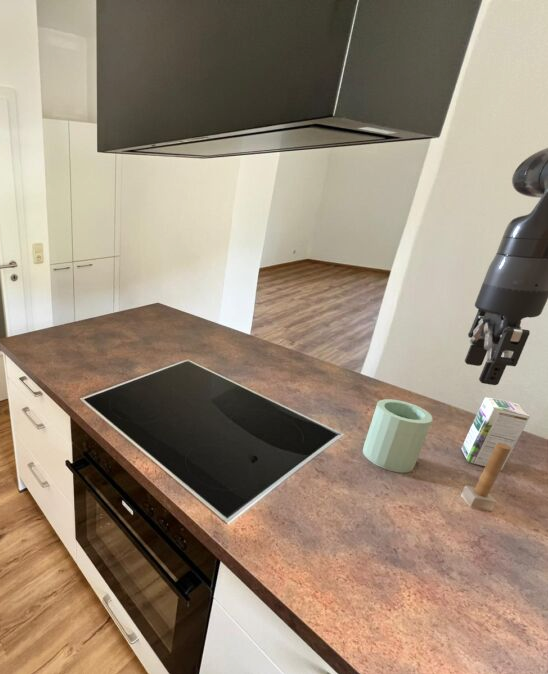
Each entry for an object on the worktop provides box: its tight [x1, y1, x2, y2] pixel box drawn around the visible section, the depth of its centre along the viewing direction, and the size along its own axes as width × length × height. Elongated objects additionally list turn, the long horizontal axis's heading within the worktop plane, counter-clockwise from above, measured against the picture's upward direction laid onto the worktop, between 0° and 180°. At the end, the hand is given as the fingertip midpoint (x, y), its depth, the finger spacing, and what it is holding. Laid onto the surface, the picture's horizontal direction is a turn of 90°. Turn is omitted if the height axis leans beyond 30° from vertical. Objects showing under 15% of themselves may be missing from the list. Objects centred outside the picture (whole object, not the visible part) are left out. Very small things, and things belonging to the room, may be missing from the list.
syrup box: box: [460, 397, 531, 471], centre depth 80 cm, size 6×6×14 cm
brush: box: [460, 443, 511, 512], centre depth 67 cm, size 3×3×15 cm
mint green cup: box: [362, 398, 434, 474], centre depth 81 cm, size 9×9×13 cm
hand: (479, 373), depth 64 cm, fingers open, 8 cm apart
